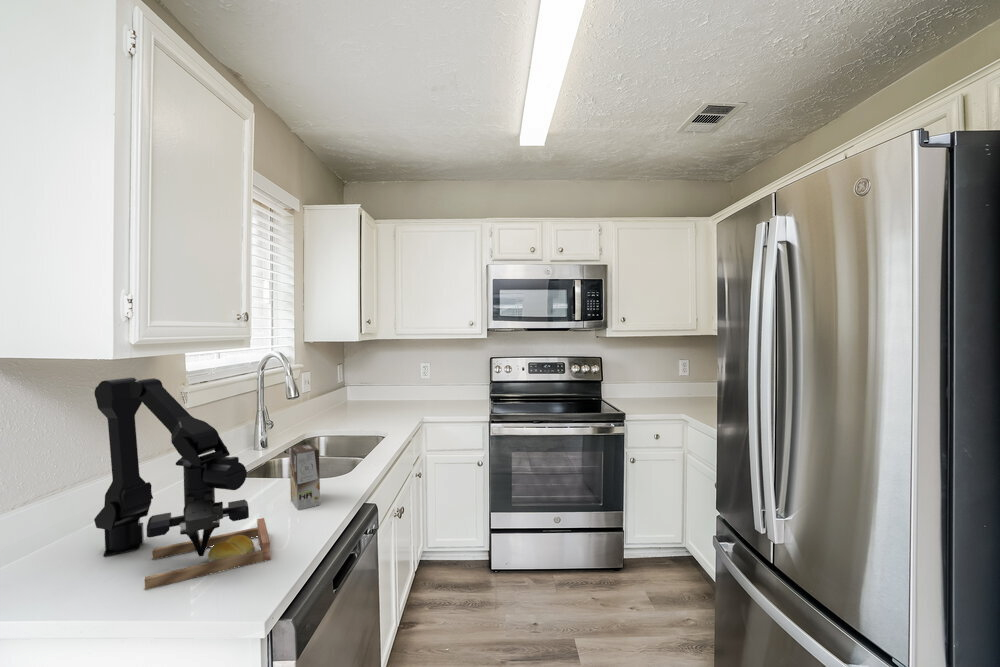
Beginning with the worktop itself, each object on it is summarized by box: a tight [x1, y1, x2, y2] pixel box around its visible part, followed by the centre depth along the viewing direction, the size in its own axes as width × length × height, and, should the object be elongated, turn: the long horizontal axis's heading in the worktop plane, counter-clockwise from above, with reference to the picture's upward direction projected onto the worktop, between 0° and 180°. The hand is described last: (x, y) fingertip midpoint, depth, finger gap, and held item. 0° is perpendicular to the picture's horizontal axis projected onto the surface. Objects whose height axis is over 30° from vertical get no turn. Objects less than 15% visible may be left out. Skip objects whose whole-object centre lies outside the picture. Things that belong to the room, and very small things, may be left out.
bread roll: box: [207, 535, 256, 562], centre depth 108 cm, size 8×9×4 cm
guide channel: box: [144, 517, 271, 590], centre depth 107 cm, size 22×15×4 cm
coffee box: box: [288, 443, 321, 511], centre depth 140 cm, size 9×6×16 cm
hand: (201, 555), depth 106 cm, fingers closed
